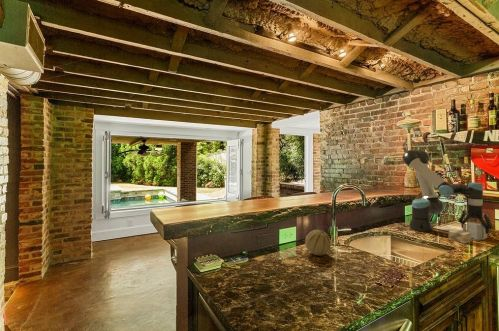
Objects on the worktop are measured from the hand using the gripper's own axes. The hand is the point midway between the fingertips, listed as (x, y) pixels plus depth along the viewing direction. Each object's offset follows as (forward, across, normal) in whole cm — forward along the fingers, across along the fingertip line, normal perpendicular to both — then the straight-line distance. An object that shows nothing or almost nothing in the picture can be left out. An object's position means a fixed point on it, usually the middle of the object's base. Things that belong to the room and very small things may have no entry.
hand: (474, 235), depth 175 cm
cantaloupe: (+2, -21, -119) cm, 121 cm away
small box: (+2, 0, 0) cm, 2 cm away
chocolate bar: (+2, +17, -107) cm, 108 cm away
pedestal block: (+2, -1, -16) cm, 16 cm away
